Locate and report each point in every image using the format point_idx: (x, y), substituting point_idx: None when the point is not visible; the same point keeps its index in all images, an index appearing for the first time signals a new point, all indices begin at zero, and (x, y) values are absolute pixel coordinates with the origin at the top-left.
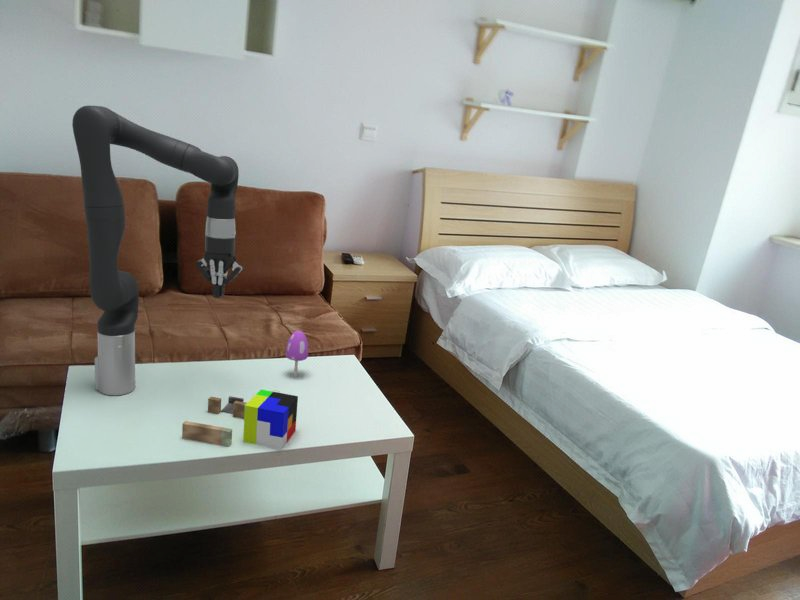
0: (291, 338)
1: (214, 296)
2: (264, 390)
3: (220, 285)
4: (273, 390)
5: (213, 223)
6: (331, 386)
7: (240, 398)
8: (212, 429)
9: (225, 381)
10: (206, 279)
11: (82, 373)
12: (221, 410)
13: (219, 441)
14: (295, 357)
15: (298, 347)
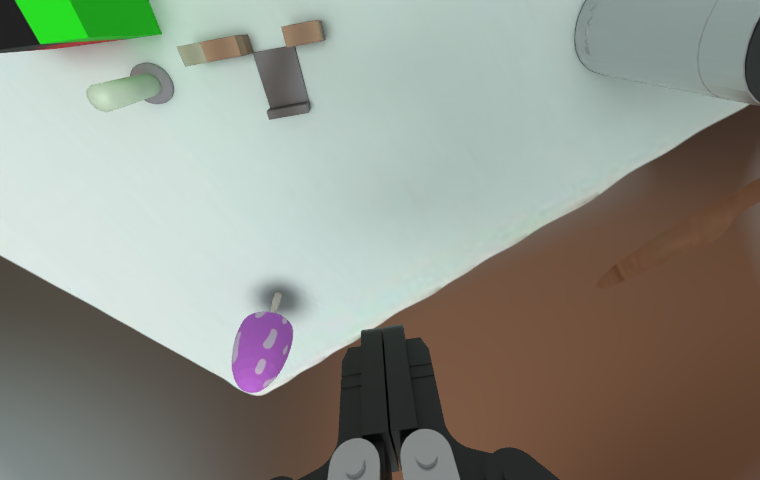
0: (262, 360)
1: (400, 327)
2: (71, 35)
3: (362, 439)
4: (115, 103)
5: None
6: (186, 291)
7: (275, 115)
8: None
9: (388, 204)
10: (527, 463)
11: None
12: (294, 48)
13: None
14: (252, 318)
15: (241, 342)
